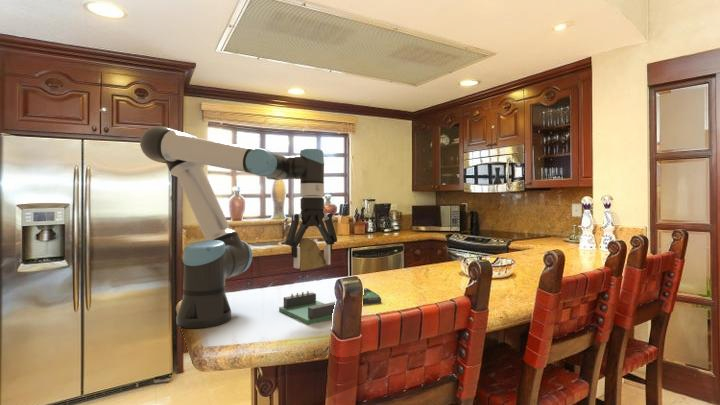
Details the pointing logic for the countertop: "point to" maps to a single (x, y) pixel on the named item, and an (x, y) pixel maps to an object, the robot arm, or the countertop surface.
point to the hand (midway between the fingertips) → (312, 266)
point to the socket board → (307, 308)
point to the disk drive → (370, 297)
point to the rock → (310, 255)
